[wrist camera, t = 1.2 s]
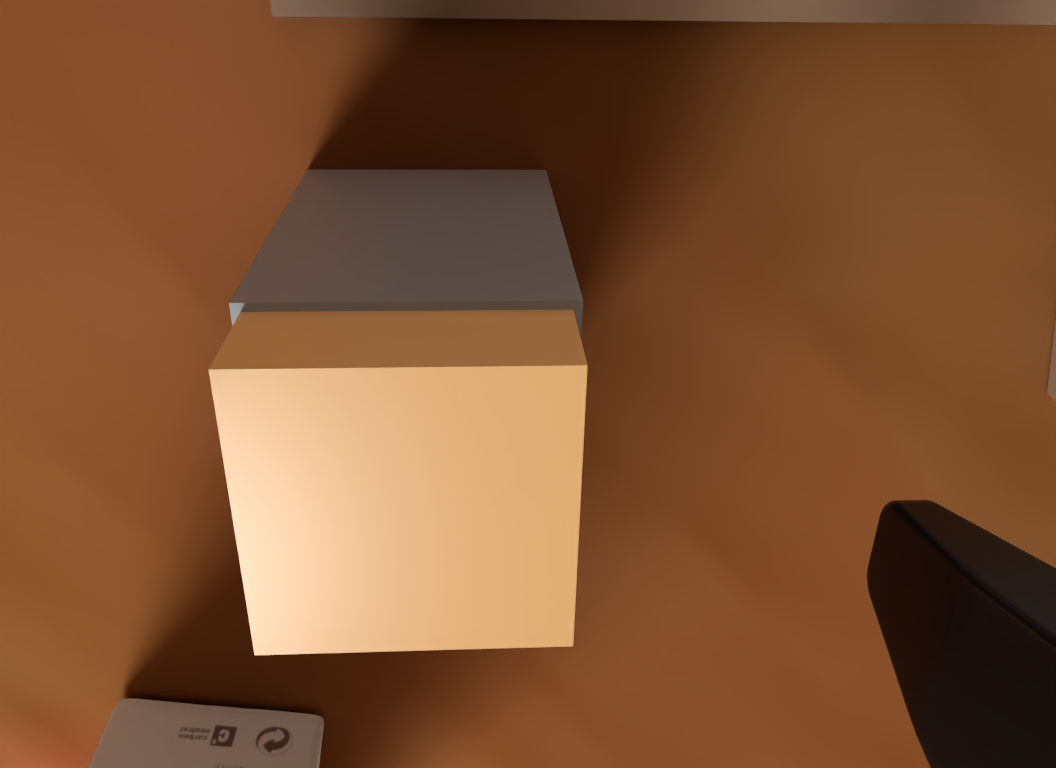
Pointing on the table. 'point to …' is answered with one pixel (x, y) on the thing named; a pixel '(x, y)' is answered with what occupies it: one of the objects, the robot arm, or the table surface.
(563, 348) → the lidded cardboard box
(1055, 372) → the plain pale rectangular box
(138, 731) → the skincare box
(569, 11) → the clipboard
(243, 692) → the table surface
